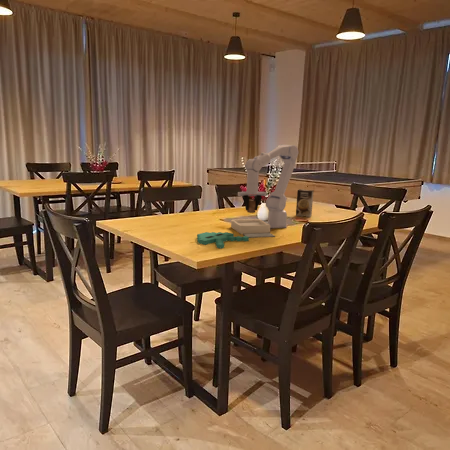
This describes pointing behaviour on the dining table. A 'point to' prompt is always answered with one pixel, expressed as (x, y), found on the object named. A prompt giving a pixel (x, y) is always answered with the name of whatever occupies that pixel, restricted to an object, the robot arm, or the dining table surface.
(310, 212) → the coffee box
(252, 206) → the walnut cylinder
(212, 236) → the alien figure
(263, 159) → the robot arm
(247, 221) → the open box
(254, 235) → the slate mat
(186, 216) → the dining table surface
